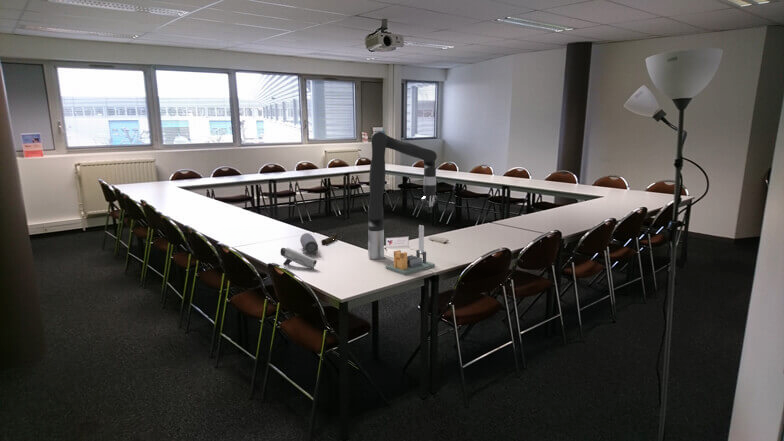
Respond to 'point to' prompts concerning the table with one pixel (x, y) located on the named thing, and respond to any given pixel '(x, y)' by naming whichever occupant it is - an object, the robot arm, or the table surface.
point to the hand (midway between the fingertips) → (429, 212)
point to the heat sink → (413, 261)
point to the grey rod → (421, 239)
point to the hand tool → (330, 239)
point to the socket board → (414, 269)
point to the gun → (297, 258)
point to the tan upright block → (400, 260)
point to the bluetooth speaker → (309, 243)
